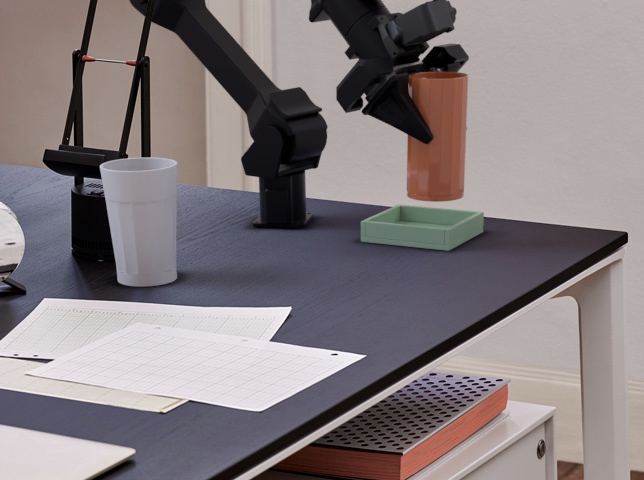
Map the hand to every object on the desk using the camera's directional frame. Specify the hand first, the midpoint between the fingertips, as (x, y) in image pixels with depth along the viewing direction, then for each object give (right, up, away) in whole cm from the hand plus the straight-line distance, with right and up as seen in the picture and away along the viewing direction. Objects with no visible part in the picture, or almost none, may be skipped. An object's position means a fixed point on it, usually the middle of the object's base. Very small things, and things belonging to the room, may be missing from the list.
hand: (447, 137), depth 149 cm
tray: (-2, -9, +10) cm, 14 cm away
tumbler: (-1, -6, +4) cm, 7 cm away
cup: (-32, -17, -5) cm, 37 cm away
